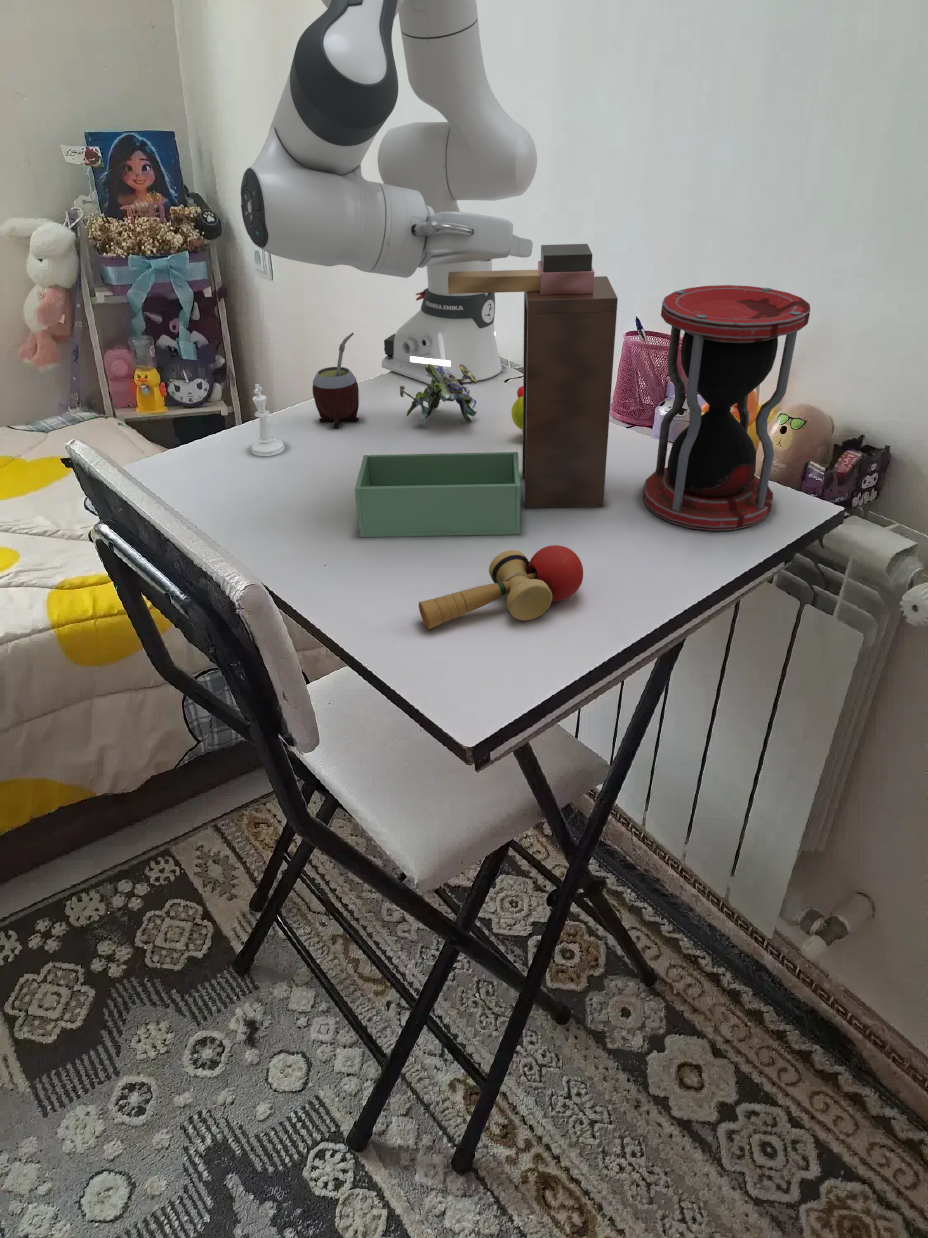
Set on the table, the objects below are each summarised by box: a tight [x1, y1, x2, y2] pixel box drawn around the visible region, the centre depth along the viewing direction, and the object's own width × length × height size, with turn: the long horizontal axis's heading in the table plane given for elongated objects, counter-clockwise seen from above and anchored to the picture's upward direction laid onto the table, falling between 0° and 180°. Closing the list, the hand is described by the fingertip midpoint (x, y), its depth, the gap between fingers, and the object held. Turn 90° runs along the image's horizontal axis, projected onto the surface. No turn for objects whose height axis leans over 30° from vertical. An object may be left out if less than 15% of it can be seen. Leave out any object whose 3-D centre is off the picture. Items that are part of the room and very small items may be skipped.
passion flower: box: [399, 364, 478, 428], centre depth 133 cm, size 11×11×12 cm
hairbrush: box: [448, 243, 595, 295], centre depth 99 cm, size 16×6×4 cm, turn 89°
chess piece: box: [251, 383, 286, 457], centre depth 126 cm, size 5×5×10 cm
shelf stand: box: [521, 275, 619, 509], centre depth 107 cm, size 10×10×26 cm
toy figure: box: [510, 385, 523, 431], centre depth 127 cm, size 18×6×7 cm, turn 0°
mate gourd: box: [312, 332, 360, 430], centre depth 132 cm, size 8×8×15 cm
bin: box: [354, 451, 522, 538], centre depth 107 cm, size 20×10×7 cm, turn 89°
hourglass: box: [641, 284, 811, 532], centre depth 104 cm, size 16×16×25 cm
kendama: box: [418, 544, 584, 630], centre depth 90 cm, size 8×6×18 cm
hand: (508, 251), depth 99 cm, fingers open, 8 cm apart
